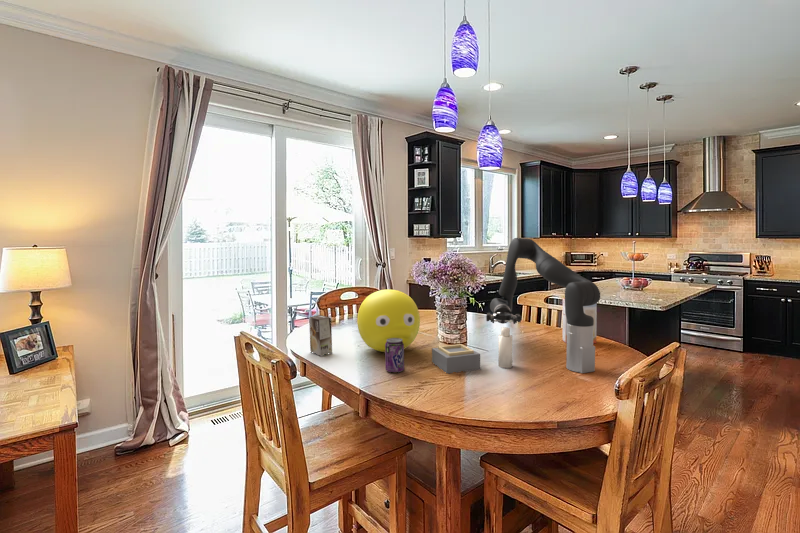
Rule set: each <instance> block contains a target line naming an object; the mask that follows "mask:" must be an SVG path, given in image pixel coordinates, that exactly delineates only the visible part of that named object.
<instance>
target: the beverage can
mask: <svg viewBox="0 0 800 533" xmlns="http://www.w3.org/2000/svg"><path fill="white" fill-rule="evenodd" d="M386 341H387V342H386V344H385V352H384V354H385V355H384V356H385V359H384V360H385V371H387V372H389V373H391V372H398V373H401V372H403V371H404V370H405V348H404V344H403V342H402V341H403V340H402V339H400V338H389V339H387V340H386Z"/></svg>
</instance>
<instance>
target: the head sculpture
mask: <svg viewBox="0 0 800 533" xmlns="http://www.w3.org/2000/svg"><path fill="white" fill-rule="evenodd" d="M356 321H357V330H358V333H359V335H360V337H361V339H362V341H363V342H364V344H366V345H367V346H368V347H369V348H371V349H373V350H375V351H378V352H382V353H385V344H386V342H387V341H386V340H387V339H389V338H400V339H402V340H403V341H402V342H403V344H404V349H407V348H408V347H409V346H411V344H412V343H413V342H414V340H416V337H417V336H418V334H419V330H420V327H421V325H420V324H421V318H420V312H419V308H418V306H417V304H416V302H415V301H414V299H413V298H411V296H409V294H407V293H405V292H403V291H400V290H397V289H390V288H389V289H387V288H386V289H380V290H378V291H377V290H376V291H375V292H372V293H370V294H369V295H367V296H366V297H365V299H364V300H363V301H362V303H361V304H360V306H359V309H358V312H357V320H356Z"/></svg>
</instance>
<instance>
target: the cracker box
mask: <svg viewBox="0 0 800 533" xmlns="http://www.w3.org/2000/svg"><path fill="white" fill-rule="evenodd" d="M597 304H598V302H597V303H596V304H594V305H590V306H583V310H584V313H585V314H586V315H589V316H591V317H593V319H594V331H593V344H597V319H598V318H597V316H598V315H597V311H598V310H597V306H598V305H597ZM562 341H563V343H565V344H567V318H566V314H565V297H562Z"/></svg>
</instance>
